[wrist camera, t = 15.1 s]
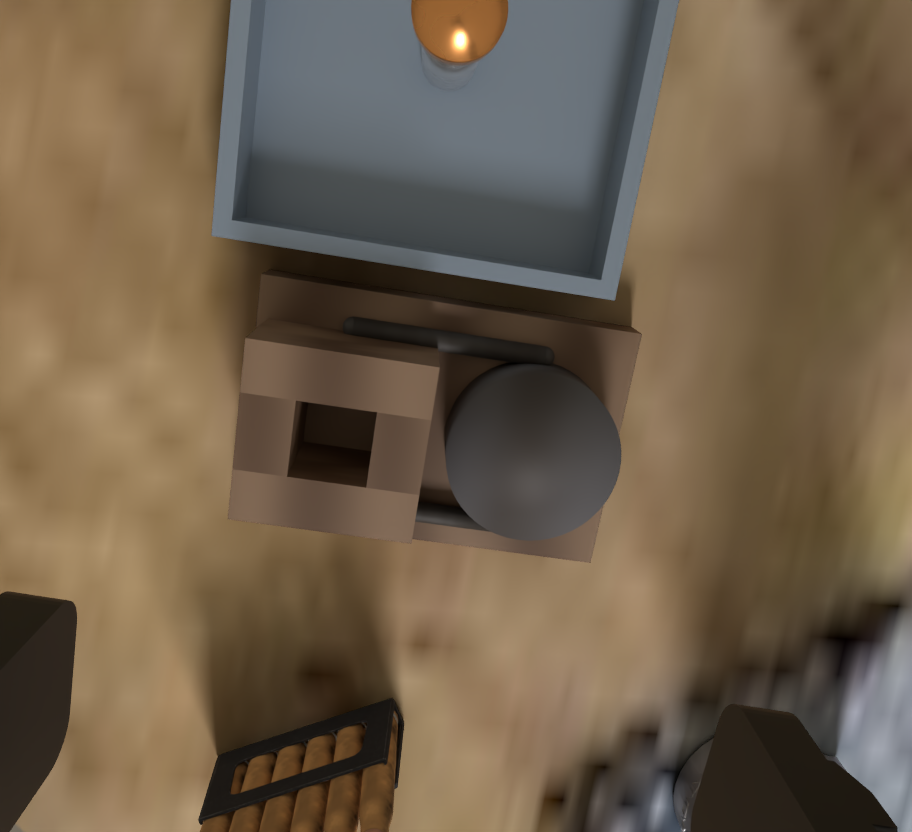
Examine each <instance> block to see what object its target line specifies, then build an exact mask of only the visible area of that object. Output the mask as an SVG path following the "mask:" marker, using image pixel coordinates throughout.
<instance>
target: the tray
mask: <svg viewBox="0 0 912 832" xmlns="http://www.w3.org/2000/svg"><path fill="white" fill-rule="evenodd" d="M678 3H679V0H508V18H507V23H506V26H505V29H504V31H503V33H502V35H501V37H500V39H499V41H498V43H497V44H496V46H495V47H494V48H493V50H492V51H491V52H490V53H489V54H488V55H486V56H485V57H484V58H482V59H481V60H479V63H478V65H477V67H476V69H475V71H474V73H473V76H472V78H471V79H470V81H469V82H468V83H467V84H466V85H465V86H464V87H462V88H461V89H459V90H456V91H451V92H447V91H441V90H439V89H437V88H435V87H433V86H432V85H431V84H430V83H429V82H428V80H427V79H426V77H425V75H424V73H423V70H422V52H421V44H420V42H419V41H418V39H417V37H416V34H415V32H414V28H413V24H412V16H411V0H231V8H230V20H229V32H228V44H227V56H226V68H225V80H224V92H223V104H222V116H221V128H220V140H219V152H218V164H217V176H216V188H215V200H214V212H213V224H212V236H216V237H222V238H228V239H234V240H240V241H247V242H253V243H259V244H265V245H272V246H278V247H284V248H290V249H296V250H303V251H309V252H315V253H321V254H327V255H334V256H340V257H346V258H352V259H359V260H365V261H371V262H377V263H383V264H390V265H396V266H402V267H408V268H415V269H421V270H427V271H433V272H439V273H446V274H452V275H458V276H464V277H471V278H477V279H483V280H489V281H495V282H502V283H508V284H514V285H520V286H526V287H533V288H539V289H545V290H551V291H558V292H564V293H570V294H576V295H582V296H589V297H595V298H601V299H607V300H614V301H615V297H616V293H617V288H618V283H619V279H620V274H621V269H622V265H623V260H624V255H625V251H626V246H627V241H628V237H629V232H630V227H631V223H632V218H633V213H634V208H635V204H636V199H637V194H638V190H639V185H640V180H641V176H642V171H643V166H644V162H645V157H646V152H647V148H648V143H649V138H650V134H651V129H652V124H653V120H654V115H655V110H656V106H657V101H658V96H659V92H660V87H661V82H662V78H663V73H664V68H665V64H666V59H667V54H668V50H669V45H670V40H671V36H672V31H673V26H674V21H675V17H676V12H677V7H678Z"/></svg>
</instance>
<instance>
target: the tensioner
mask: <svg viewBox="0 0 912 832" xmlns="http://www.w3.org/2000/svg"><path fill="white" fill-rule="evenodd" d="M641 336H642V334H641V333H640V332H638V331H637V330H635V329H634V328H632V327H628V326H622V325H615V324H609V323H603V322H596V321H590V320H584V319H577V318H571V317H565V316H558V315H552V314H546V313H539V312H533V311H527V310H521V309H514V308H508V307H502V306H495V305H489V304H483V303H476V302H470V301H464V300H457V299H451V298H445V297H438V296H432V295H426V294H420V293H413V292H407V291H401V290H394V289H388V288H382V287H375V286H369V285H363V284H356V283H350V282H344V281H337V280H331V279H325V278H319V277H312V276H306V275H300V274H293V273H287V272H281V271H274V270H267V271H266V272H264V273H262V274H261V279H260V289H259V299H258V310H257V320H256V329H255V330H254V331H253V332H252V333H251V334H249V335H248V336H247V337H246V338H245V346H244V356H243V367H242V377H241V387H240V398H239V408H238V418H237V429H236V439H235V450H234V460H233V470H232V481H231V491H230V501H229V512H228V519H231V520H238V521H246V522H253V523H261V524H268V525H276V526H283V527H291V528H298V529H306V530H313V531H321V532H328V533H336V534H343V535H351V536H358V537H365V538H373V539H380V540H388V541H395V542H403V543H410V544H411V543H412V539H417V540H424V541H432V542H439V543H446V544H454V545H461V546H469V547H476V548H484V549H491V550H499V551H506V552H513V553H521V554H528V555H536V556H543V557H551V558H558V559H566V560H573V561H580V562H588V563H591V558H592V554H593V549H594V545H595V541H596V536H597V532H598V527H599V523H600V518H601V514H602V509H603V505H604V504H605V502H606V501H607V499H608V498H609V496H610V494H611V493H612V490H613V488H614V486H615V484H616V481H617V478H618V474H619V470H620V464H621V444H620V438H619V434H620V429H621V425H622V421H623V416H624V412H625V407H626V403H627V398H628V394H629V389H630V385H631V381H632V376H633V372H634V367H635V363H636V358H637V354H638V349H639V345H640V341H641Z"/></svg>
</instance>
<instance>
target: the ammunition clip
mask: <svg viewBox="0 0 912 832" xmlns="http://www.w3.org/2000/svg"><path fill="white" fill-rule="evenodd" d="M403 731H404V722H403V720H402V717H401V715H400V713H399V710H398V708H397V706H396V703H395V701H394V699H392V698H390V699H387V700H384V701H381V702H378V703H375V704H372V705H369V706H366V707H363V708H360V709H357V710H354V711H351V712H348V713H345V714H342V715H339V716H336V717H333V718H330V719H327V720H324V721H321V722H318V723H315V724H312V725H308V726H305V727H302V728H299V729H296V730H293V731H290V732H287V733H284V734H281V735H278V736H275V737H272V738H269V739H266V740H263V741H260V742H257V743H254V744H251V745H248V746H245V747H242V748H239V749H236V750H233V751H230V752H227V753H224V754H220V755H219V757H218V758H217V760H216V764H215V767H214V770H213V773H212V777H211V780H210V783H209V787H208V790H207V793H206V796H205V800H204V803H203V806H202V810H201V813H200V816H199V819H198V820H199V823H200V825H202V827H201V830H200V832H357V827H358V820H359V819H360V825H361V832H389V827H390V824H391V820H392V816H393V804H394V789H396V788H397V787H398V778H399V768H400V759H401V750H402V740H403Z"/></svg>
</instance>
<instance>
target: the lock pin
mask: <svg viewBox="0 0 912 832" xmlns="http://www.w3.org/2000/svg"><path fill="white" fill-rule="evenodd" d="M411 16H412V24H413V28H414V32H415V34H416V37H417V39H418V41H419V42H420V44H421V52H422V70H423V73H424V75H425V77H426V79H427V80H428V82H429V83H430V84H431V85H432V86H433V87H435V88H437V89H439V90H441V91H447V92H451V91H456V90H459V89H461V88H462V87H464V86H465V85H466V84H467V83H468V82H469V81H470V79H471V78H472V76H473V73H474V71H475V69H476V67H477V65H478V63H479V60H481V59H482V58H484V57H485V56H486V55H488V54H489V53H490V52H491V51H492V50H493V48H494V47H495V46H496V44H497V43H498V41H499V39H500V37H501V35H502V33H503V31H504V29H505V26H506V23H507V18H508V0H411Z"/></svg>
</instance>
